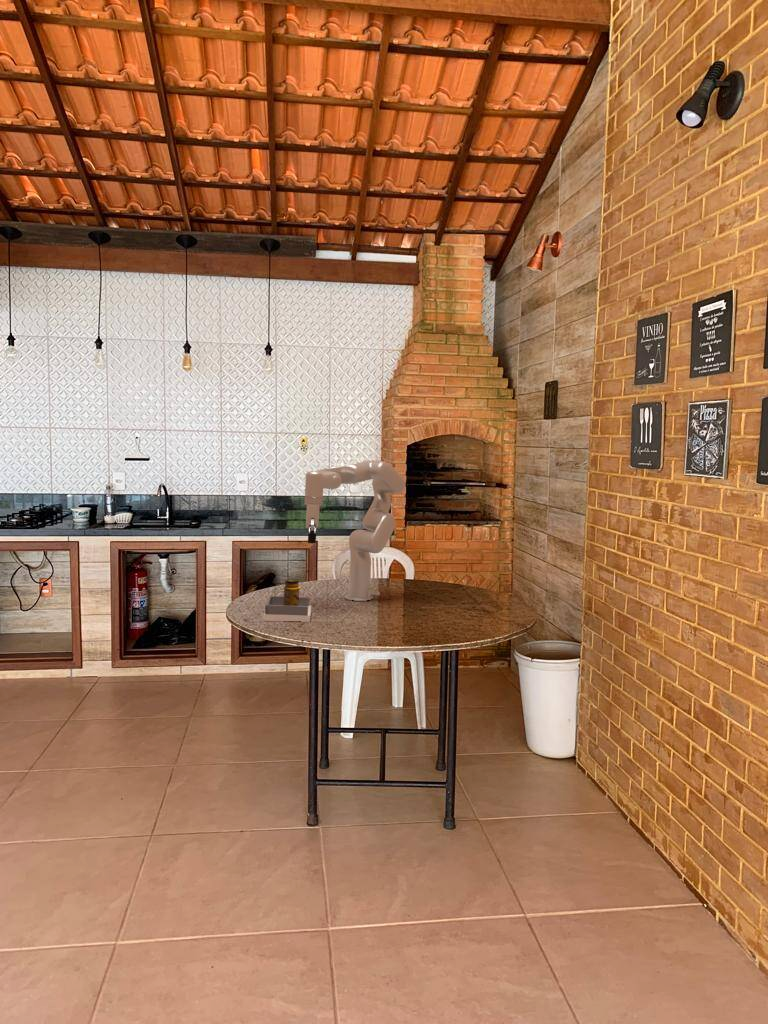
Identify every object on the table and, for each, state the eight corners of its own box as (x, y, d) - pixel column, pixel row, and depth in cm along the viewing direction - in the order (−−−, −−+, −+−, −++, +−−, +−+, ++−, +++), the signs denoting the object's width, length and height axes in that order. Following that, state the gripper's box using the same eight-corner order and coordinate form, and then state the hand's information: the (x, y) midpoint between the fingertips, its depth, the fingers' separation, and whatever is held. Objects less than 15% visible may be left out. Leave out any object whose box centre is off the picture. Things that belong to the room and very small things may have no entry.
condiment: (302, 610, 278) (303, 581, 277) (283, 612, 273) (284, 582, 272) (294, 606, 284) (295, 577, 283) (275, 608, 279) (276, 579, 278)
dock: (311, 611, 289) (311, 597, 288) (309, 622, 271) (310, 607, 270) (267, 609, 287) (267, 595, 287) (263, 620, 270) (263, 605, 269)
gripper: (305, 499, 300) (303, 538, 301) (303, 502, 283) (302, 544, 284) (322, 499, 300) (321, 539, 302) (322, 503, 283) (320, 544, 285)
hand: (312, 541), depth 293 cm, fingers open, 9 cm apart
